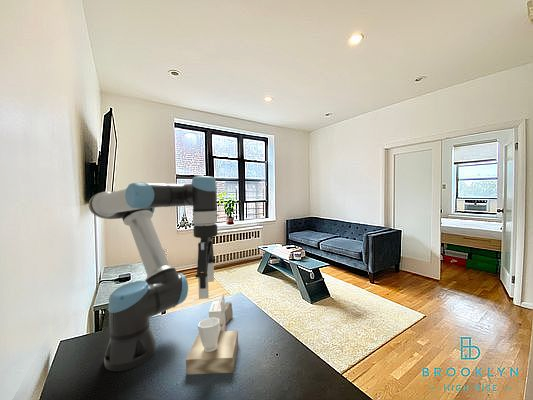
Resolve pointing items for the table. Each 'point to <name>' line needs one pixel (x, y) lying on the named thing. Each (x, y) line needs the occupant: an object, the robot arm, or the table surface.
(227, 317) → the mineral specimen
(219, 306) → the ink cartridge box
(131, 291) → the robot arm
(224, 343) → the maple block
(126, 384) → the table surface
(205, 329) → the cup
